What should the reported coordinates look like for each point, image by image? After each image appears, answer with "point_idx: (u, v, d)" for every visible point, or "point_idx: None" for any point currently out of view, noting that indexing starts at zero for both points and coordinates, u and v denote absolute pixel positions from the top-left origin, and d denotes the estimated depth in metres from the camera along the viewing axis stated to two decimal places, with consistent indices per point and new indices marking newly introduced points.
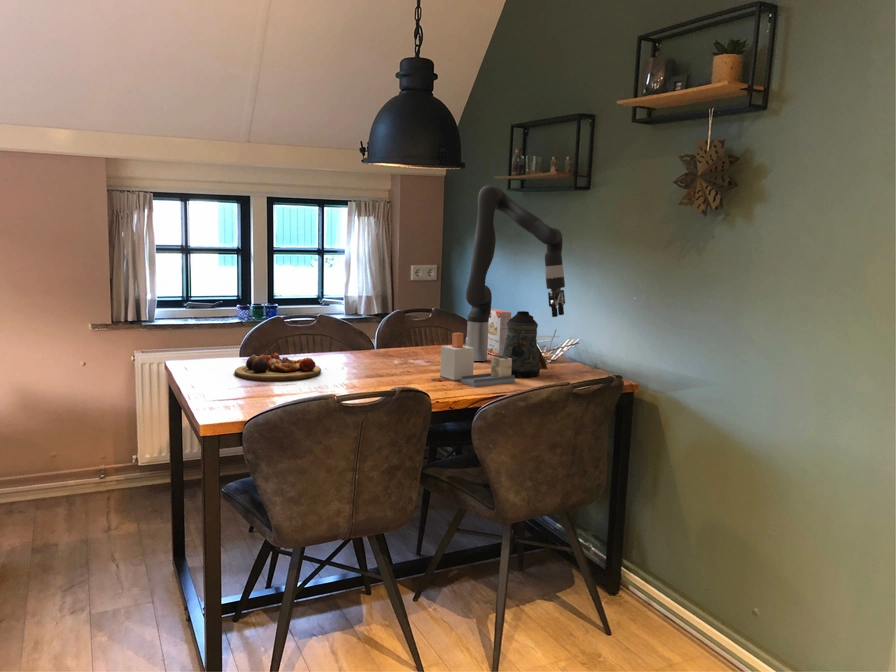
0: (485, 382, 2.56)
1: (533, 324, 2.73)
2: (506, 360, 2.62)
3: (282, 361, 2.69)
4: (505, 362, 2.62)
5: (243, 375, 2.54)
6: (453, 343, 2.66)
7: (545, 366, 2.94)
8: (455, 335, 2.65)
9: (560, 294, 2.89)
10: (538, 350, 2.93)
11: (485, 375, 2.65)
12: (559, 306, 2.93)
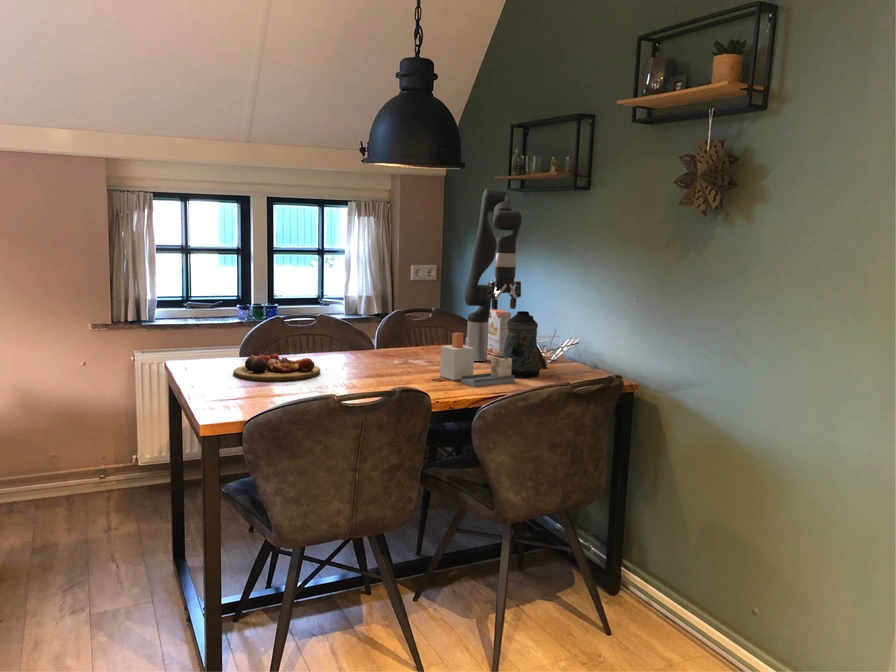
0: (485, 382, 2.56)
1: (533, 324, 2.73)
2: (506, 360, 2.62)
3: (281, 361, 2.68)
4: (505, 362, 2.62)
5: (242, 375, 2.54)
6: (453, 343, 2.66)
7: (545, 366, 2.94)
8: (455, 335, 2.65)
9: (508, 286, 2.60)
10: (538, 350, 2.93)
11: (485, 375, 2.65)
12: (511, 299, 2.64)
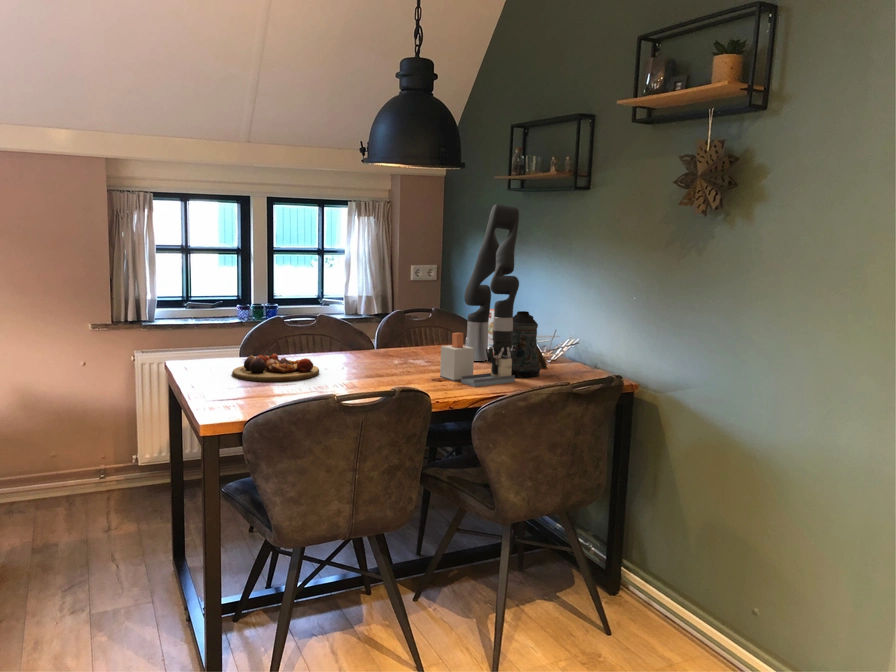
0: (485, 382, 2.56)
1: (533, 324, 2.73)
2: (506, 360, 2.62)
3: (280, 362, 2.67)
4: (505, 362, 2.62)
5: (240, 376, 2.53)
6: (453, 343, 2.66)
7: (545, 366, 2.94)
8: (455, 335, 2.65)
9: (506, 348, 2.63)
10: (538, 350, 2.93)
11: (485, 375, 2.65)
12: None
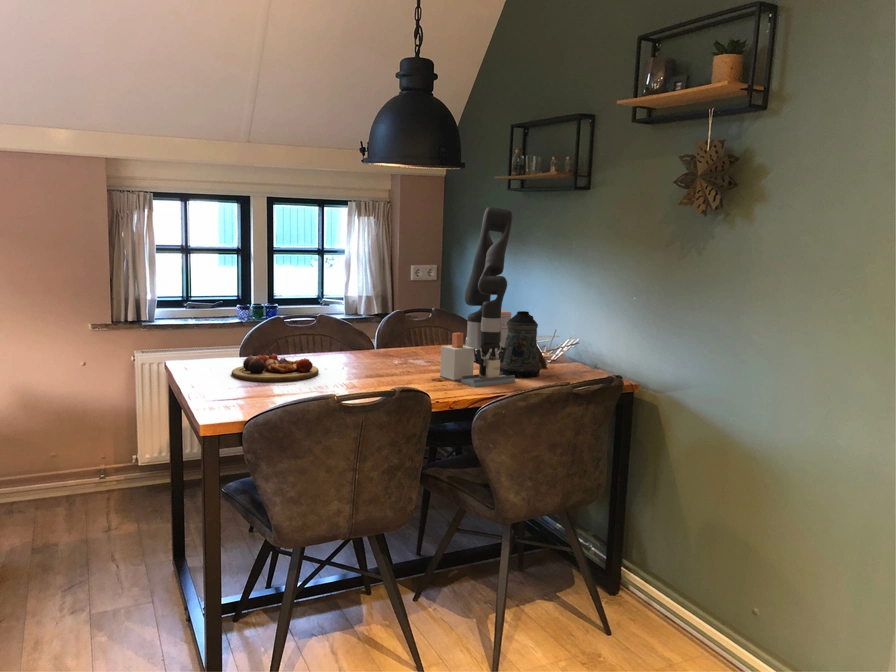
0: (485, 382, 2.56)
1: (533, 324, 2.73)
2: (494, 361, 2.58)
3: (279, 362, 2.67)
4: (493, 363, 2.58)
5: (239, 376, 2.53)
6: (453, 343, 2.66)
7: (545, 366, 2.94)
8: (455, 335, 2.65)
9: (494, 349, 2.60)
10: (538, 350, 2.93)
11: None
12: None
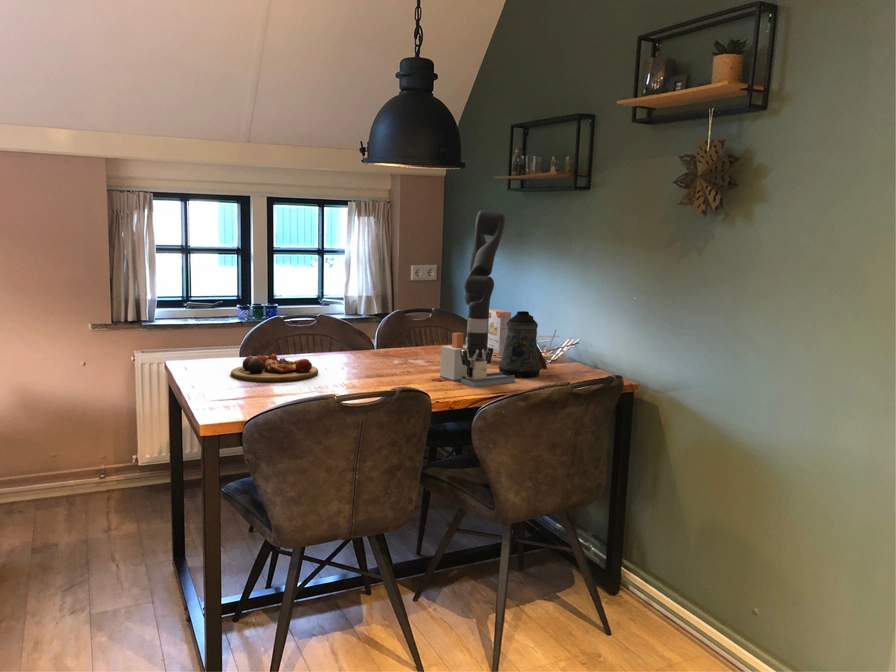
0: (485, 382, 2.56)
1: (533, 324, 2.73)
2: (481, 362, 2.55)
3: (279, 362, 2.67)
4: (480, 364, 2.55)
5: (239, 376, 2.53)
6: (453, 343, 2.66)
7: (545, 366, 2.94)
8: (455, 335, 2.65)
9: (480, 350, 2.56)
10: (538, 350, 2.93)
11: None
12: None
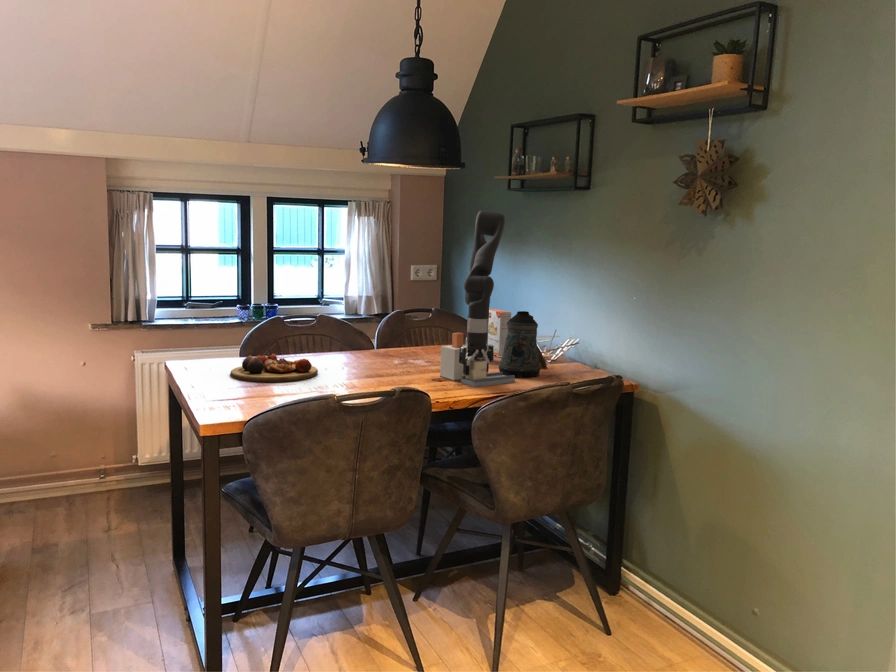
0: (485, 382, 2.56)
1: (533, 324, 2.73)
2: (481, 362, 2.55)
3: (279, 362, 2.67)
4: (480, 364, 2.55)
5: (238, 376, 2.53)
6: (453, 343, 2.66)
7: (545, 366, 2.94)
8: (455, 335, 2.65)
9: (480, 351, 2.56)
10: (538, 350, 2.93)
11: None
12: None
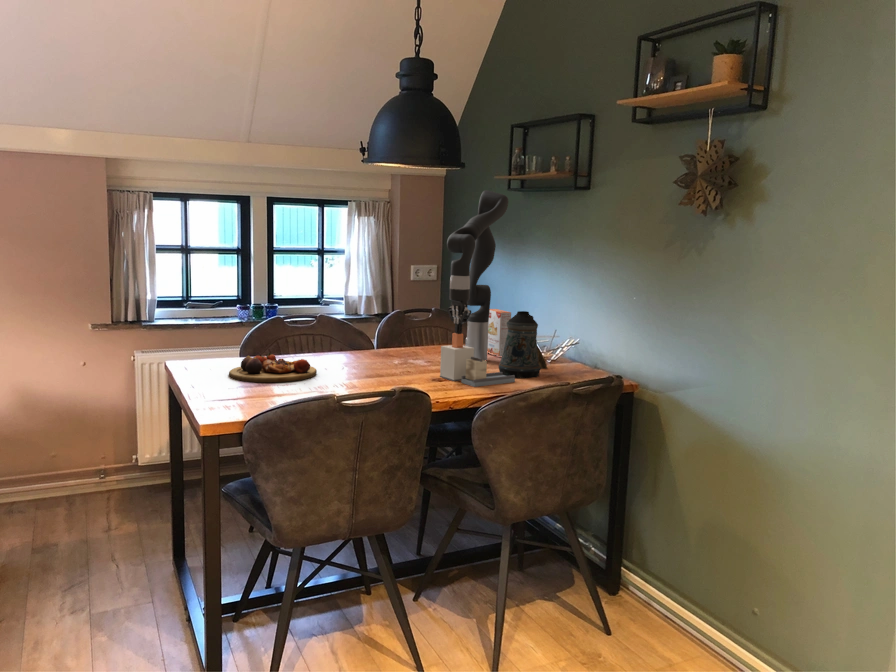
0: (485, 382, 2.56)
1: (533, 324, 2.73)
2: (481, 362, 2.55)
3: (277, 362, 2.66)
4: (480, 364, 2.55)
5: (236, 376, 2.52)
6: (453, 343, 2.66)
7: (545, 366, 2.94)
8: (455, 335, 2.65)
9: None
10: (538, 350, 2.93)
11: None
12: None
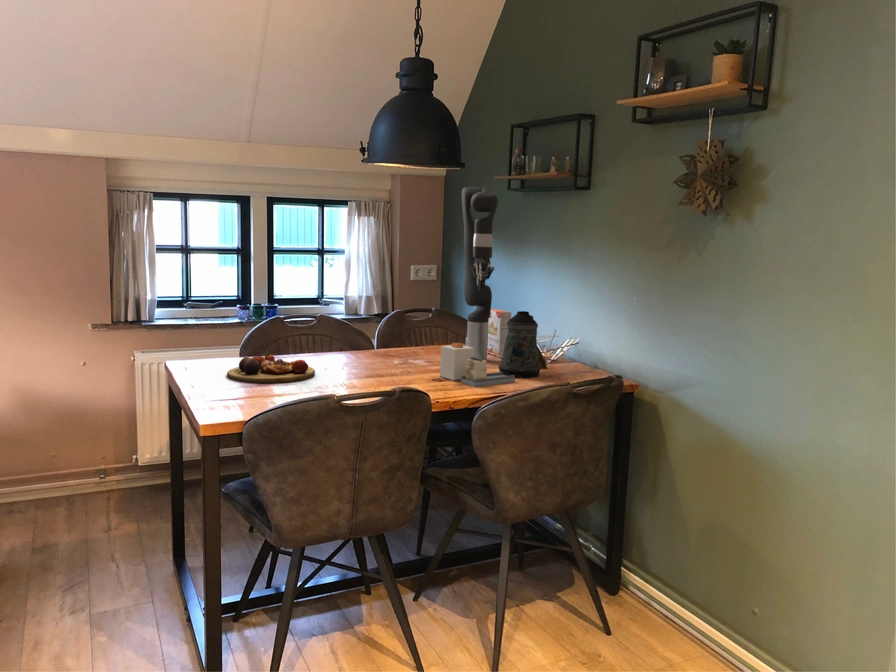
0: (485, 382, 2.56)
1: (533, 324, 2.73)
2: (481, 362, 2.55)
3: (276, 363, 2.65)
4: (480, 364, 2.55)
5: (234, 377, 2.51)
6: None
7: (545, 366, 2.94)
8: (455, 345, 2.65)
9: None
10: (538, 350, 2.93)
11: None
12: None
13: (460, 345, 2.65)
